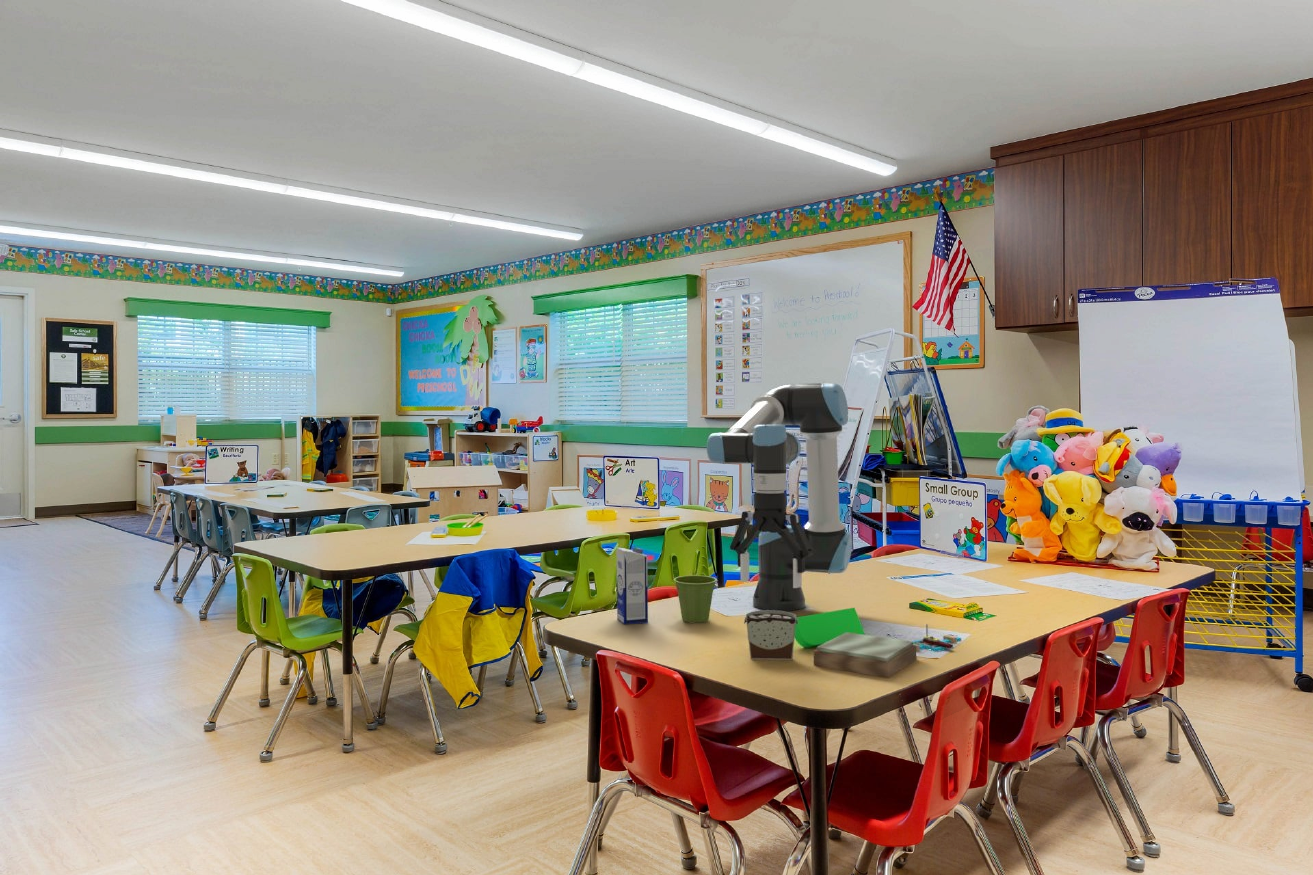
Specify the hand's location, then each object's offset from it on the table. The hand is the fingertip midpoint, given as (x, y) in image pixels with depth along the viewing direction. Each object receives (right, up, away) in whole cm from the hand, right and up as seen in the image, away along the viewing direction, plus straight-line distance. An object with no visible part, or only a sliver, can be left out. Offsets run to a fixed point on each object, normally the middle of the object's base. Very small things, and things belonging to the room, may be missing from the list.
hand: (770, 584), depth 197 cm
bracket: (+14, -17, +15) cm, 26 cm away
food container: (0, -17, 0) cm, 17 cm away
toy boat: (+40, -17, +7) cm, 44 cm away
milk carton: (-33, -16, +37) cm, 52 cm away
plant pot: (-16, -16, +37) cm, 43 cm away
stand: (+20, -16, -6) cm, 27 cm away
